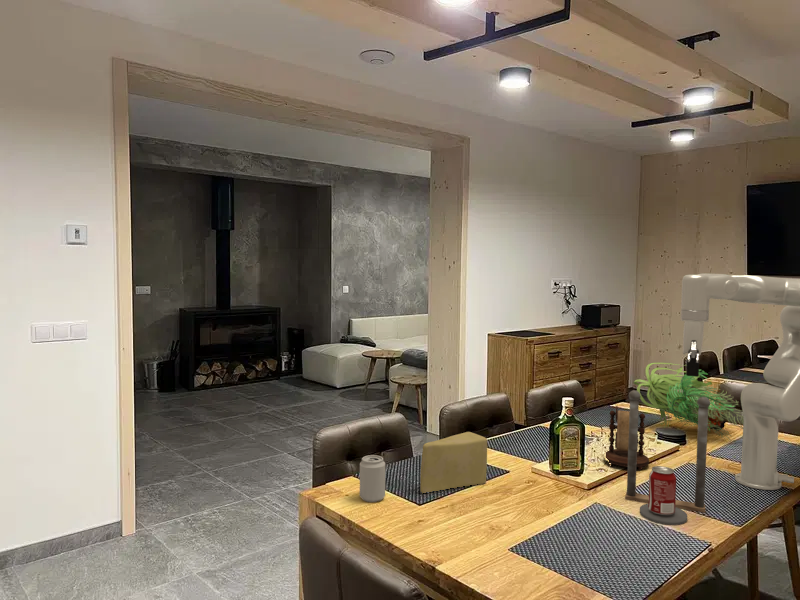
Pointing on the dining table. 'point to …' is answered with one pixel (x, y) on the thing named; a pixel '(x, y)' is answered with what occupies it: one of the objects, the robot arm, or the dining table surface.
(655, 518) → the coaster
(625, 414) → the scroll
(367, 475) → the can
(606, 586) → the dining table surface
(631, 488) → the gate
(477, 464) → the cheese
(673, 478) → the soda can
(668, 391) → the plant
